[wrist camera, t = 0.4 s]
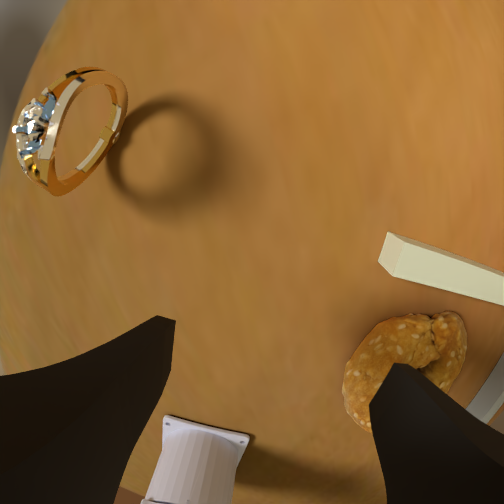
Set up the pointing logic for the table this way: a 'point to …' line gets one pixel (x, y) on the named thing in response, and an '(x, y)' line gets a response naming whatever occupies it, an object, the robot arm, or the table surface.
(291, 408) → the table surface
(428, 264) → the guide
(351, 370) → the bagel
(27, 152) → the ring
